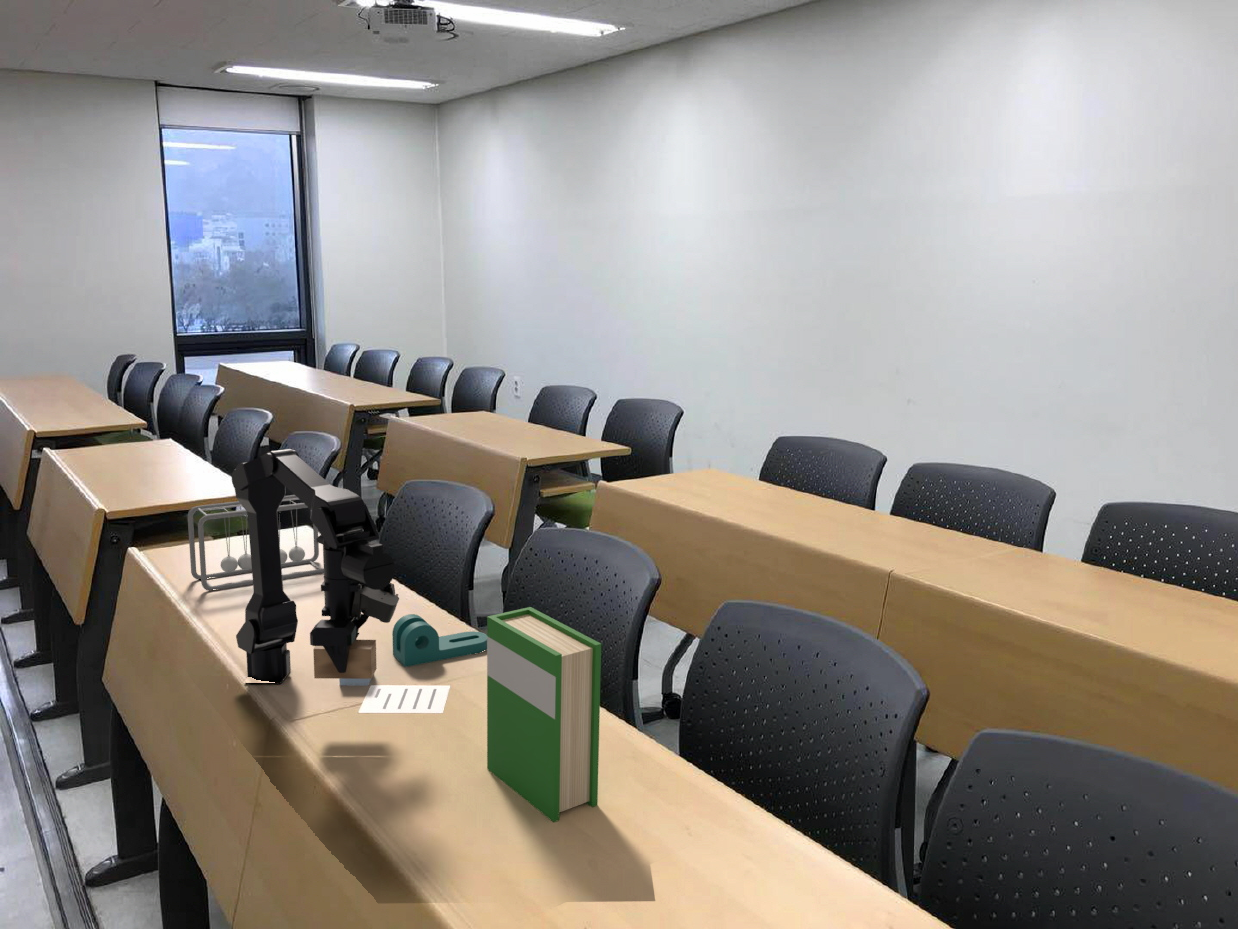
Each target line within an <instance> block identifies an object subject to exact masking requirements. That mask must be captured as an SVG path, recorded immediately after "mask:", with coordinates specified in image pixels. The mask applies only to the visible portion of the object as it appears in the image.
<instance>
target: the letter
mask: <svg viewBox="0 0 1238 929" xmlns="http://www.w3.org/2000/svg"><path fill="white" fill-rule="evenodd" d="M450 688H451V685H432V684H431V685H425V684H424V685H422V684H421V685H416V684H415V685H410V684H409V685H408V684H407V685H405V684H404V685H397V684H395V685H393V684H392V685H391V684H389V685H387V684H386V685H385V684H383V685H382V684H381V685H379V684H377V685H376V684H375V685H372V684H371V685H370V687H369V689H368V691H367V693H366V695H365V697H364V699H363V702H362V704H361V705H360V708H359V710H358V712H357V713H358V714H443V713H444V709H445V707H446V702H447V699H448V696H449V693H450Z"/></svg>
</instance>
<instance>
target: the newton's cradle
mask: <svg viewBox="0 0 1238 929" xmlns="http://www.w3.org/2000/svg"><path fill="white" fill-rule="evenodd" d="M296 500H300V499H299V498H298V497H297V496H295V495H294V494H291V495H285V496H284V498H283V500H282V502H289V504H283V505H280V506H279V508H278V510H277V512H283V511H290V514H291V522H292V524H294V520H293V519H294V518H293V513H292V512H293V511H292V510H296V512H295V515H296V516H295V517H296V518H295V519H296V520H295V521H296V526H295V528H296V529H295V528H294V525H292V531H293V536H294V544H295V546H293V547H292V548H290V550H289V551H288V554H287V551H286V550H284V549H281V548H280V555H281V568H288V567H295V566H301V565H306V564H307V565H309V564H311V565H313V566H314V567H316V568H317V569H311V570H307V571H306V570H305V571H299V572H294V573H293V572H292V573H286V574H282V581H284V580H290V579H296V578H301V577H307V576H314V575H320V574H324V567H323V568H321V567H320V566H319V565H317V563H315V562H316V561H317V560H318V558H319V555H320V548H319V544H320V543H318V542H317V541H316V539H317V538H318V537H319V530H318V529H317V528H316V526H315V525H314V524H313V523H312V527H313V528H312V529H313V532H312V533H313V534H312V535H313V556H312V557H310V558H307V559H305V556H306V552H305V549H304V548H303V547H301V546H298V510H299V509H307V508H308V507H307V506H306V505H305V504H304V503H303V502H300V503H299V502H298V503H295V502H294V501H296ZM291 502H292V504H291ZM235 507H236V508H237V507H239V509H240V510H231V511H228V510H227V509H229V508H235ZM220 509H223V510H222V511H223V512H217V513H216V512H215V513H206V512H204V511H211V510H220ZM242 509H243V510H242ZM308 509H309V508H308ZM196 512H200V513H201V514H203V516H202V517H201V518H200V519H199V521H198V523H197V532H198V534H197V535H198V549H199V552H198V553H199V567H200V574H199V573H198V572H197V563H196V562H197V560H196V545H195V528H194V526H195V525H194V514H195V513H196ZM243 516H245V532H244V531H242V538H243V540H245V541H243V546H244V547H243V548H244V554H241V555H240V556H238V560H237V559H236V558H235V556H231V555H230V552H231V551H230V548H231V547H230V542H231V540H230V538H231V536H230V535H231V534H230V532H231V530H230V528H231V527H230V526H231V524H230V521H231V519H230V518H232V517H233V518H234V517H240V518H241V527H242V530H244V525H243ZM226 518H228V534H227V525H226ZM215 519H216V520H218V519H223V520H224V521H223V522H224V528H225V529H224V532H225V538H226V539H225V540H226V542H228V543H226V551H227V552H228V553H227V556H225V557H223V558H222V560H221V561H220V569H221V570H222V572H215V573H209V574H208V573H207V565H206V564H207V563H206V548H205V547H206V546H205V545H206V544H205V531H204V529H205V528H204V524H205V522H206V521H209V520H215ZM187 526H188V527H187V529H188V530H187V531H188V541H189V543H188V544H189V560H190V574H191V576H192V577H193V578H194V579H195V580H197V579H201V580H200V582H201V586H202V588H203V589H204V590H206V591H208V590H213V589H222V590H226V589H225V588H229V589H235V588H240V586H241V587H246V586H251V585H252V586H253V579H249V580H243V581H242V580H241V581H236V582H231V583H229V582H228V583H224V584H223V583H222V584H217V585H211V584H210V583H209V581H208V579H207V578H209V577H218V578H224V576H225V577H229V576H230V577H231V576H236V575H238V576H239V575H243V574H250V573H251V574H252V564H251V553H250V554H249V553H247V552H248V551H247V550H248V549H247V547H248V546H247V542H248V541H247V540H248V539H247V538H248V536H247V535H248V534H247V533H248V530H247V529H248V515H247V511H246V510H245V509H244V507H243V506H242V505H241V503H240V502H239V501H238V500H237V501H230V502H221V503H213V504H211V503H210V504H203V505H197V506H193V507H192V508H190V509H189V510H188V513H187ZM278 529H279V542H281V523H278ZM295 530H296V535H295ZM244 533H245V534H244ZM227 536H228V537H227ZM288 558H289V559H290V561H287V560H288ZM238 567H239V568H240V569H237V568H238ZM234 587H235V588H234Z"/></svg>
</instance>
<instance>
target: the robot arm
mask: <svg viewBox="0 0 1238 929" xmlns="http://www.w3.org/2000/svg"><path fill="white" fill-rule="evenodd" d="M231 482H232V483H231V484H232V487H233V488H234V493H235V494H234V495H235V498H236V500H237V501H239V502H240V503H241V505H242V507H243V509H244V510H246V511H247V528H248V538H249V550H250V551H249V553H250V555H251V564H252V572H251V574H252V576H251V577H252V580H253V585H252V586H253V587H252V588H253V593H252V595H251V596H250V599H249V601H248V603H247V605H246V606H245V611H244V612H245V613H244V618H245V619H244V623H243V624H242V626H241V627H240V629H239V630H238V632H237V634H236V635H235V638H236V643H237V648H239V649H241V650H243V651H244V652H245V653H246V655H245V656H246V669H247V670H246V672H247V673H246V674H247V677H252V678H254V679H256V680H261V681H269V682H275V683H280V684H282V683H283V682H284V680H285V679H286V678H285V677H287V676H288V675H289V674H290V673H291V671H292V669H291V667H292V666H291V650H290V649H288V648H287V645H288V644H289V643H294V642H295V639H296V635H297V634H296V633H297V630H298V624H299V620H298V617H297V604H296V602H295V601H294V600H291V598H290V597H289V596H288V595H287V594H286V592H285V591H284V585H283V584H284V583H283V581H284V580H282V575H283V570H282V568H281V555H280V549H281V543H280V542H281V541H280V542H279V520H278V518H279V517H278V511H277V510H278V508H279V506H281V504H282V502H283V501H282V500H283V498H284V496H286V493H287V492H286V488H287V490H289V491H290V492H291V493H292V495H295V496H297V497H298V498H299V500H300V501H301V503H304V504H305V505H306V506H307V507H308V509H309V510H310V521H311V523H312V525H313V524H314V525H315V526H316V528H317V529H318V533H320V535H318V538H317V539H316V541H317V542H318V543H319V544H321V545H322V558H323V560H322V562H323V568H324V573H323V582H322V583H321V584H320V592H324V593H323V594H324V595H323V596H324V606H323V607H322V609H321V617H329V619H320V620H319V621H318V622H317V623H316V624H315V625H314V627H313V628H312V629H311V631H310V632H309V644H310V645H311V646H312V647H315V646H323V647H324V648H325V650H326V652H327V653H328V655H329V657H330V658H331V660H332V662H333V664H334V665H335V667H336V669H337V671H338V672H339V673H345V672H346V668H347V662H348V656H349V649H350V645H352V644H353V642H354V641H355V640H358V636H359V635H360V632H359V630H360V628H361V627H362V626H363V625H364V624H365V623H366V622H368V619H369V617H371V618H373V619H375V620H376V619H377V620H379V621H380V622H381V623H384V624H385V623H386V624H389V623H390V622H391V621H392V618H393V617H394V613H395V611H396V608H397V606H398V603H399V600H400V597H399V594H398V593H396V589H395V584H394V583H391V582H392V581H393V578H394V577H395V574H396V568H397V567H396V563H395V561H394V559H393V557H392V556H391V555H390V554H389V553H387V552H384V551H385V550H384V548H385V547H384V545H383V544H381V543H378V542H374V541H378V540H380V536H379V533H378V526H377V524H376V523H375V520H374V519H373V517H372V515H371V513H370V511H369V508H368V506H367V504H366V503H365V501H364V499H363V498H362V497H361V496H360V495H358V494H357V493H355V492H353V491H352V490H349V489H348V488H347V489H346V488H341V487H339V486H338V487H337V486H334V485H332V484H330V483H329V482H328V481H327V480H326V479H325V478H323V476H321V475H320V474H319V473H318V472H316V471H315V470H314V469H313V468H312V467H311V466H310V465H309V464H307V463H306V462H305V461H304V460H303V459H301V458H300V456H299V453H298V451H297V450H295V449H291V448H286V449H280V450H279V449H278V450H271V451H267V453H264V454H263V455H261V456H260V457H257V458H255V459H252V460H250V461H247V462H241V463H238V464H237V465H236V468H235V469H233V470H232V473H231ZM360 530H362V531H360ZM357 531H358V532H357ZM351 532H352V533H351ZM346 533H347V534H346ZM282 681H283V682H282ZM281 682H282V683H281Z"/></svg>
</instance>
